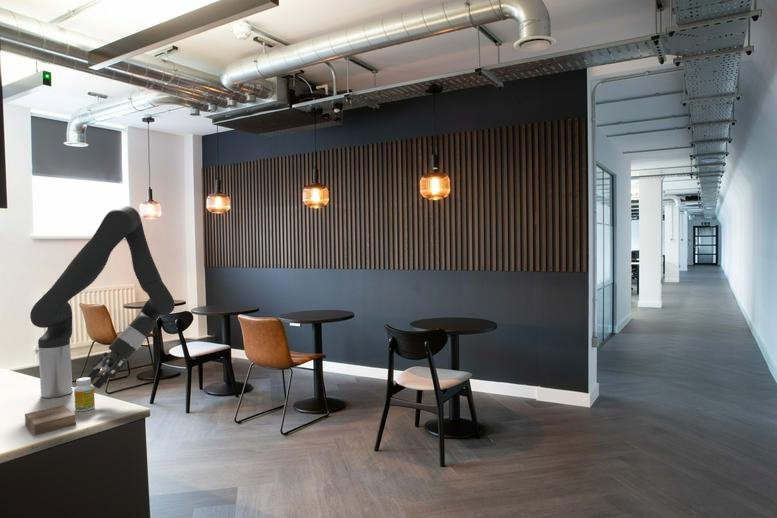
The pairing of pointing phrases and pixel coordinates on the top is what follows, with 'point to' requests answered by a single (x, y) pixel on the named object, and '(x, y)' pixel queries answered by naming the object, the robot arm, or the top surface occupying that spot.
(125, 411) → the top surface
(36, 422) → the walnut riser
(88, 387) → the supplement bottle
